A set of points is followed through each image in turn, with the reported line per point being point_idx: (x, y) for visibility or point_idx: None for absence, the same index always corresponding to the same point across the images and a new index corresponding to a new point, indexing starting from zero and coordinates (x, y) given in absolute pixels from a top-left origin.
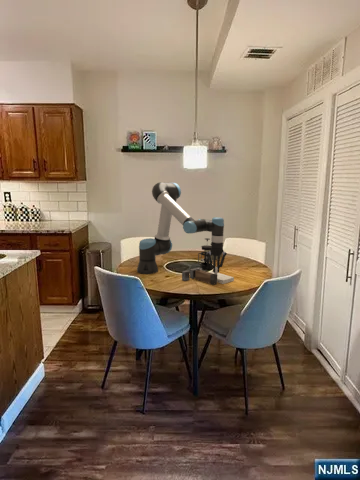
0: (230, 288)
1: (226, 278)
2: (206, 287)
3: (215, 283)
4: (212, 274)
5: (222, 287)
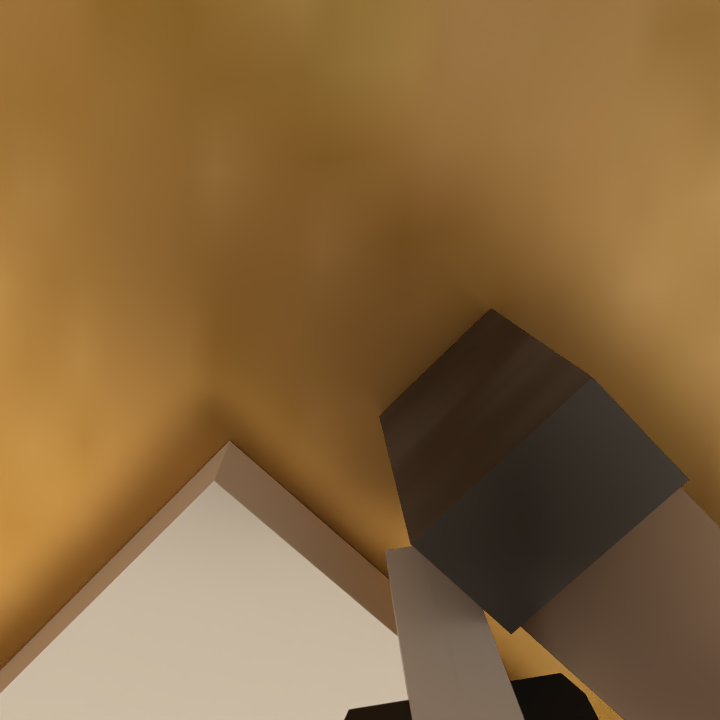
0: (14, 96)
1: (110, 674)
2: (675, 108)
3: (424, 383)
4: (603, 533)
5: (240, 161)
